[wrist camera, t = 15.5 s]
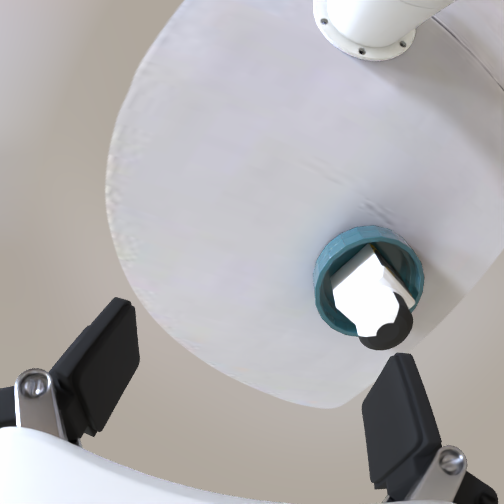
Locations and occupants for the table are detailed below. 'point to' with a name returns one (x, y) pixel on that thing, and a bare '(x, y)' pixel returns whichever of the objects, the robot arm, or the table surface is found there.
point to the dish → (346, 249)
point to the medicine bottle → (374, 299)
